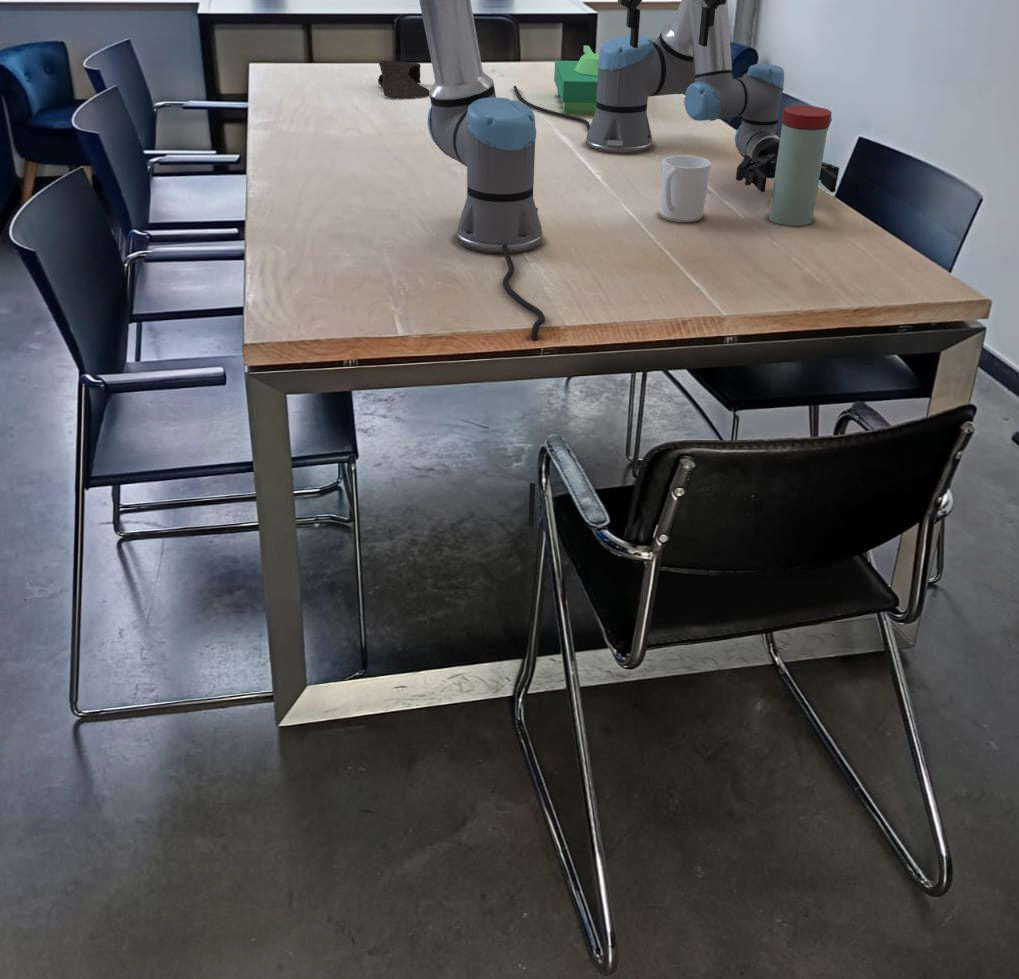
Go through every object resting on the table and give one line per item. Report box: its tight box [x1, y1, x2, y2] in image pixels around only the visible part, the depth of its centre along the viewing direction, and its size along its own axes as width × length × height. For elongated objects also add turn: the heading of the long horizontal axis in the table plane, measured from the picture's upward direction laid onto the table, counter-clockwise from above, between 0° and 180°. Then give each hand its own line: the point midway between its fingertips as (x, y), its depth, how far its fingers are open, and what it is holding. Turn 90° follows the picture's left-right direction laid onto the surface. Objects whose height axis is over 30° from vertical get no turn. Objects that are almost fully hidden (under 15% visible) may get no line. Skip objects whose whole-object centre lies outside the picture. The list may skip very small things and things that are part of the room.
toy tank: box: [553, 44, 600, 115], centre depth 290 cm, size 18×12×35 cm
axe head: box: [377, 59, 430, 99], centre depth 299 cm, size 18×8×15 cm
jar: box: [768, 122, 829, 227], centre depth 205 cm, size 8×8×20 cm
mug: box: [659, 155, 712, 223], centre depth 206 cm, size 11×9×10 cm
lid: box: [781, 105, 833, 129], centre depth 200 cm, size 9×9×2 cm
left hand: (668, 46), depth 206 cm, fingers open, 13 cm apart
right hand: (799, 185), depth 207 cm, fingers open, 13 cm apart
